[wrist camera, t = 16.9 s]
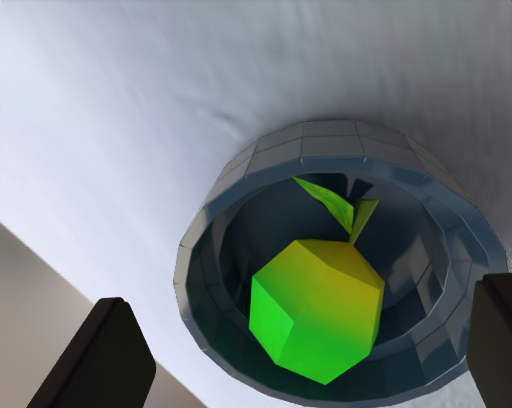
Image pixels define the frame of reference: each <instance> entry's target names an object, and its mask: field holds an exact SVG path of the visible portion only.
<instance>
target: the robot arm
mask: <svg viewBox="0 0 512 408" xmlns="http://www.w3.org/2000/svg"><path fill="white" fill-rule="evenodd" d="M466 360H467V364H468V368H469V370H470V372H471V375H472V377H473V379H474V381H475V383H476V386H477V388H478V390H479V392H480V395H481V397H482V399H483V401H484V403H485V406H486V408H512V273H494V274H484V276H483V278H482V280H478V281H476V282H475V287H474V295H473V303H472V311H471V318H470V326H469V334H468V342H467V349H466ZM155 374H156V363H155V360H154V358H153V356H152V354H151V351H150V349H149V347H148V345H147V342H146V340H145V338H144V336H143V333H142V331H141V329H140V327H139V324H138V322H137V320H136V318H135V316H134V313H133V311H132V309H131V307H130V305H129V303H128V302H125V301H124V300H123V298H121V297H114V298H101V299H99V300H98V302H97V303H96V304H95V306H94V307H93V309H92V310H91V312H90V313H89V315H88V316H87V318H86V319H85V321H84V322H83V324H82V325H81V327H80V328H79V330H78V331H77V333H76V334H75V336H74V337H73V339H72V340H71V342H70V343H69V345H68V346H67V348H66V349H65V351H64V352H63V353H62V355H61V356H60V358H59V360H58V361H57V363H56V364H55V366H54V367H53V368H52V370H51V371H50V373H49V375H48V376H47V378H46V379H45V380H44V382H43V383H42V385H41V386H40V388H39V389H38V391H37V392H36V394H35V395H34V397H33V398H32V400H31V401H30V403H29V404H28V406H27V407H26V408H143V406H144V403H145V400H146V398H147V395H148V393H149V390H150V388H151V385H152V382H153V380H154V377H155Z"/></svg>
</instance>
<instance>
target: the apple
mask: <svg viewBox="0 0 512 408" xmlns="http://www.w3.org/2000/svg"><path fill="white" fill-rule="evenodd" d="M293 178H294V179H295V180H296V181H297V182H298V183H299V184H300V185H301V186H302V187H303V188H304V189H305V190H306V191H307V192H309V193H310V194H311V195H312V196H313V197H314V198H315V199H316V200H317V201H318V202H319V203H320V204H321V205H323V206H324V207H325V208H326V209H327V210H328V211H329V212H330V213H331V214H332V215H333V216H334V217H335V218H336V219H337V220H338V222H339V223H340V224H341V225H342V226H343V227H344V229H345V230H346V231H347V232H348V233H349V234H350V236H349V241H348V242H338V241H328V240H318V239H301V240H295V241H293V242H292V243H291V244H290V245H289V246H288V247H286V248H285V249H284V250H283V251H282V252H280V253H279V254H278V255H277V256H276V257H275V258H273V259H272V260H271V261H270V262H269V263H268V264H266V265H265V266H264V267H263V268H262V269H261V270H259V271H258V272H257V273H256V274H255V275H253V276H252V290H251V305H250V320H249V329H250V330H251V332H252V333H253V334H254V336H255V337H256V338H257V340H258V341H259V342H260V344H261V345H262V346H263V348H264V349H265V350H266V352H267V353H268V354H269V356H270V357H271V358H272V360H273V361H274V362H275V364H276V365H279V366H281V367H284V368H286V369H288V370H291V371H293V372H295V373H298V374H300V375H303V376H305V377H307V378H310V379H312V380H314V381H317V382H319V383H321V384H324V385H326V384H328V383H329V382H331V381H332V380H333V379H335V378H336V377H338V376H339V375H341V374H342V373H344V372H345V371H347V370H348V369H349V368H351V367H352V366H354V365H355V364H357V363H358V362H360V361H361V360H362V359H364V358H365V357H367V356H368V355H369V354H370V352H371V349H372V347H373V344H374V342H375V339H376V337H377V334H378V330H379V323H380V315H381V308H382V300H383V293H384V285H385V282H384V281H383V279H382V278H381V277H380V276H379V275H378V274H377V273H376V271H375V270H374V269H373V268H372V267H371V266H370V264H369V263H368V262H367V261H366V260H365V259H364V257H363V256H362V255H361V254H360V253H359V252H358V250H357V249H356V248H355V247H354V246H353V244H354V242H355V241H356V239H357V237H358V236H359V234H360V232H361V231H362V229H363V227H364V225H365V224H366V222H367V220H368V219H369V217H370V215H371V214H372V212H373V210H374V209H375V207H376V205H377V204H378V202H379V200H372V199H356V205H355V210H354V215H353V208H354V207H353V206H352V205H351V204H350V203H349V202H348V201H347V200H346V199H345V198H344V197H343V196H342V195H341V194H338V193H336V192H333V191H330V190H328V189H325V188H322V187H320V186H317V185H314V184H312V183H309V182H306V181H304V180H301V179H298V178H296V177H293Z"/></svg>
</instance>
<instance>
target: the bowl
mask: <svg viewBox="0 0 512 408" xmlns="http://www.w3.org/2000/svg"><path fill="white" fill-rule="evenodd" d="M293 177H296V178H298V179H301V180H304V181H306V182H309V183H312V184H314V185H317V186H320V187H322V188H325V189H328V190H330V191H333V192H336V193H338V194H341V195H342V196H343V197H344V198H345V199H346V200H347V201H348V202H349V203H350V204H351V205H352V206H353V207H354V208H353V215H354V210H355V205H356V199H372V200H379V202H378V204H377V205H376V207H375V209H374V210H373V212H372V214H371V215H370V217H369V219H368V220H367V222H366V224H365V225H364V227H363V229H362V231H361V232H360V234H359V236H358V237H357V239H356V241H355V242H354V244H353V246H354V247H355V248H356V249H357V250H358V252H359V253H360V254H361V255H362V256H363V257H364V259H365V260H366V261H367V262H368V263H369V264H370V266H371V267H372V268H373V269H374V270H375V271H376V273H377V274H378V275H379V276H380V277H381V278H382V279H383V281H384V282H385V285H384V293H383V300H382V308H381V315H380V323H379V330H378V334H377V337H376V339H375V342H374V344H373V347H372V349H371V352H370V354H369V355H368V356H367V357H365V358H364V359H362V360H361V361H360V362H358V363H357V364H355V365H354V366H352V367H351V368H349V369H348V370H347V371H345V372H344V373H342V374H341V375H339V376H338V377H336V378H335V379H333V380H332V381H331V382H329V383H328V384H326V385H324V384H321V383H319V382H317V381H314V380H312V379H310V378H307V377H305V376H303V375H300V374H298V373H295V372H293V371H291V370H288V369H286V368H284V367H281V366H279V365H276V364H275V362H274V361H273V360H272V358H271V357H270V356H269V354H268V353H267V352H266V350H265V349H264V348H263V346H262V345H261V344H260V342H259V341H258V340H257V338H256V337H255V336H254V334H253V333H252V332H251V330H250V329H249V320H250V305H251V290H252V276H253V275H255V274H256V273H257V272H258V271H259V270H261V269H262V268H263V267H264V266H265V265H266V264H268V263H269V262H270V261H271V260H272V259H273V258H275V257H276V256H277V255H278V254H279V253H280V252H282V251H283V250H284V249H285V248H286V247H288V246H289V245H290V244H291V243H292V242H293V241H295V240H301V239H318V240H328V241H338V242H348V241H349V236H350V234H349V233H348V232H347V231H346V230H345V229H344V227H343V226H342V225H341V224H340V223H339V222H338V220H337V219H336V218H335V217H334V216H333V215H332V214H331V213H330V212H329V211H328V210H327V209H326V208H325V207H324V206H323V205H321V204H320V203H319V202H318V201H317V200H316V199H315V198H314V197H313V196H312V195H311V194H310V193H309V192H307V191H306V190H305V189H304V188H303V187H302V186H301V185H300V184H299V183H298V182H297V181H296V180H295V179H294V178H293ZM494 273H509V272H508V265H507V259H506V252H505V249H504V246H503V245H502V243H501V242H500V240H499V239H498V237H497V236H496V234H495V233H494V231H493V230H492V228H491V227H490V225H489V224H488V222H487V221H486V219H485V218H484V216H483V215H482V213H481V212H480V210H479V209H478V207H477V206H476V205H475V204H474V202H473V201H472V200H471V199H470V197H469V196H468V195H467V194H466V192H465V191H464V190H463V189H462V187H461V186H460V185H459V184H458V182H457V181H456V180H455V179H454V177H453V176H452V175H451V174H450V172H449V171H448V170H447V169H446V167H445V166H444V165H443V164H442V162H441V161H440V160H439V159H438V158H437V157H435V156H434V155H432V154H431V153H429V152H428V151H427V150H425V149H424V148H422V147H421V146H419V145H418V144H416V143H415V142H413V141H412V140H411V139H409V138H408V137H406V136H405V135H403V134H401V133H399V132H396V131H392V130H388V129H385V128H381V127H378V126H374V125H370V124H367V123H363V122H360V121H356V120H355V121H353V120H339V121H313V122H305V123H304V122H302V123H300V124H297V125H294V126H291V127H288V128H286V129H283V130H280V131H277V132H274V133H272V134H269V135H266V136H263V137H261V139H260V138H259V139H258V140H256V141H255V142H254V143H253V144H251V145H250V146H249V147H248V148H246V149H245V150H244V151H242V152H241V153H240V154H239V155H237V156H236V157H235V158H234V159H232V160H231V161H230V162H228V164H227V165H226V166H225V167H224V169H223V171H222V172H221V174H220V175H219V177H218V179H217V180H216V182H215V183H214V185H213V187H212V188H211V190H210V191H209V193H208V195H207V196H206V198H205V200H204V202H203V203H202V205H201V207H200V208H199V210H198V212H197V214H196V215H195V217H194V219H193V221H192V222H191V224H190V226H189V228H188V229H187V231H186V233H185V234H184V236H183V238H182V240H181V241H180V244H179V248H178V254H177V260H176V266H175V272H174V279H173V282H174V283H173V285H174V289H175V293H176V298H177V302H178V306H179V311H180V315H181V318H182V321H183V322H184V324H185V325H186V327H187V329H188V330H189V332H190V333H191V335H192V336H193V338H194V340H195V341H196V343H197V344H198V346H199V347H200V349H201V350H202V351H203V352H204V353H205V354H206V355H207V356H208V357H209V358H210V359H212V360H213V361H214V362H215V363H216V364H217V365H218V366H220V367H221V368H222V369H223V370H224V371H225V372H226V373H227V374H229V375H230V376H231V377H233V378H235V379H237V380H239V381H240V382H242V383H244V384H246V385H248V386H250V387H252V388H254V389H256V390H257V391H259V392H261V393H263V394H265V395H267V396H270V397H274V398H277V399H280V400H284V401H287V402H291V403H294V404H298V405H301V406H305V407H315V408H376V407H385V406H392V405H397V404H400V403H403V402H406V401H409V400H412V399H414V398H417V397H420V396H423V395H426V394H429V393H432V392H434V391H437V390H439V389H440V388H442V387H443V386H445V385H447V384H448V383H450V382H451V381H453V380H454V379H456V378H457V377H459V376H460V375H462V374H464V373H465V372H467V371H468V370H469V368H468V364H467V360H466V349H467V342H468V334H469V326H470V318H471V311H472V303H473V295H474V287H475V282H476V281H478V280H482V278H483V276H484V274H494Z"/></svg>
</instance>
